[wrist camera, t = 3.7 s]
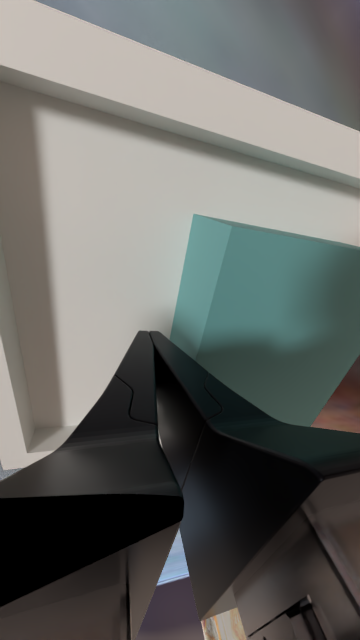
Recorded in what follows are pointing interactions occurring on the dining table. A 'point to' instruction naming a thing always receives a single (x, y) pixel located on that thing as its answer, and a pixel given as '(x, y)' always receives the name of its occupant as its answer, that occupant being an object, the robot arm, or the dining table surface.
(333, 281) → the teal rectangular block
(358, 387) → the dining table surface
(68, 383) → the tray
